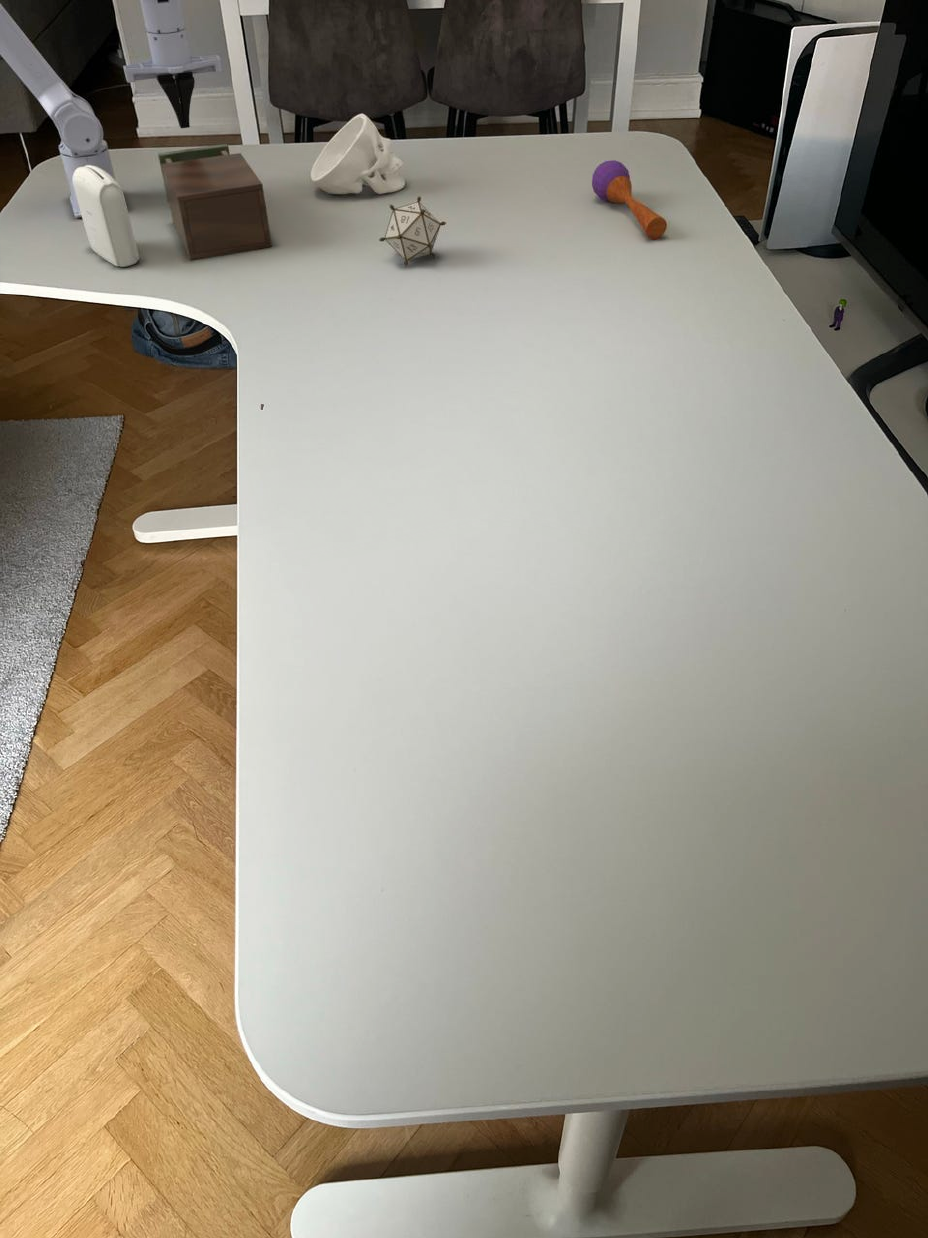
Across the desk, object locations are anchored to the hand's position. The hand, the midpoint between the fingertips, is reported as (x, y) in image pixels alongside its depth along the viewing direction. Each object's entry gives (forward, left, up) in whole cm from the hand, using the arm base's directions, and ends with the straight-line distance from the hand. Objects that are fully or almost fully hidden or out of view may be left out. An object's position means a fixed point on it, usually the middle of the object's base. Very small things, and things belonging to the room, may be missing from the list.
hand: (184, 125), depth 159 cm
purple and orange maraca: (+39, +60, -10) cm, 72 cm away
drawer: (+10, 0, -9) cm, 13 cm away
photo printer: (+22, -16, -10) cm, 29 cm away
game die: (+41, +24, -10) cm, 48 cm away
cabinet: (+21, 0, -10) cm, 23 cm away
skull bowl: (+11, +25, -10) cm, 29 cm away
